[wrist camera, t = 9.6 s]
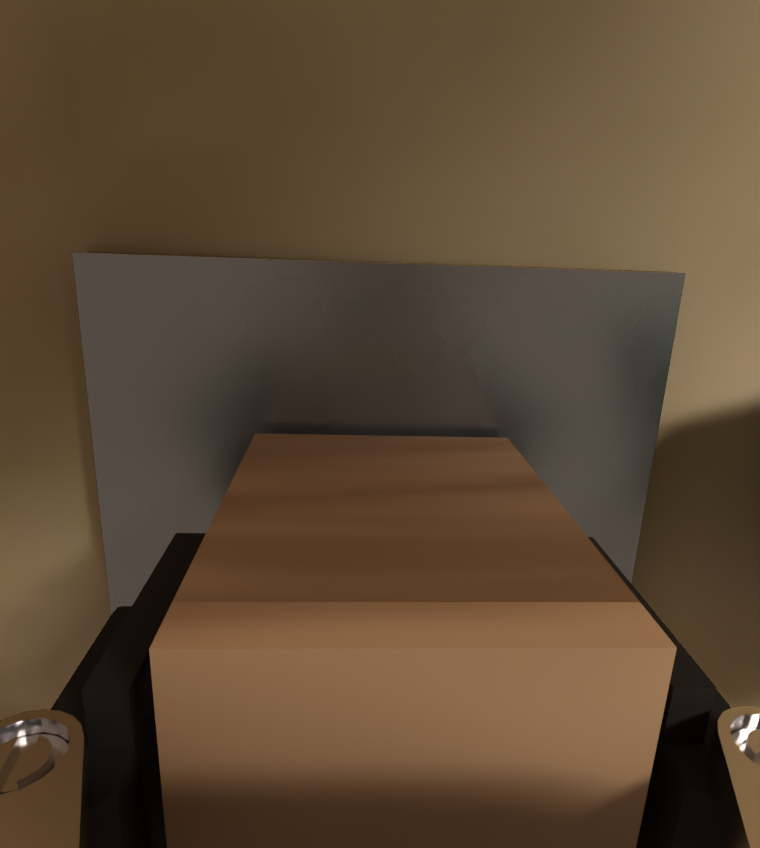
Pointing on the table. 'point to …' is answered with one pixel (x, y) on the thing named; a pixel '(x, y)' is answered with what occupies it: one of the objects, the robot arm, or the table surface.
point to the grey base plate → (363, 378)
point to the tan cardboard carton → (403, 659)
